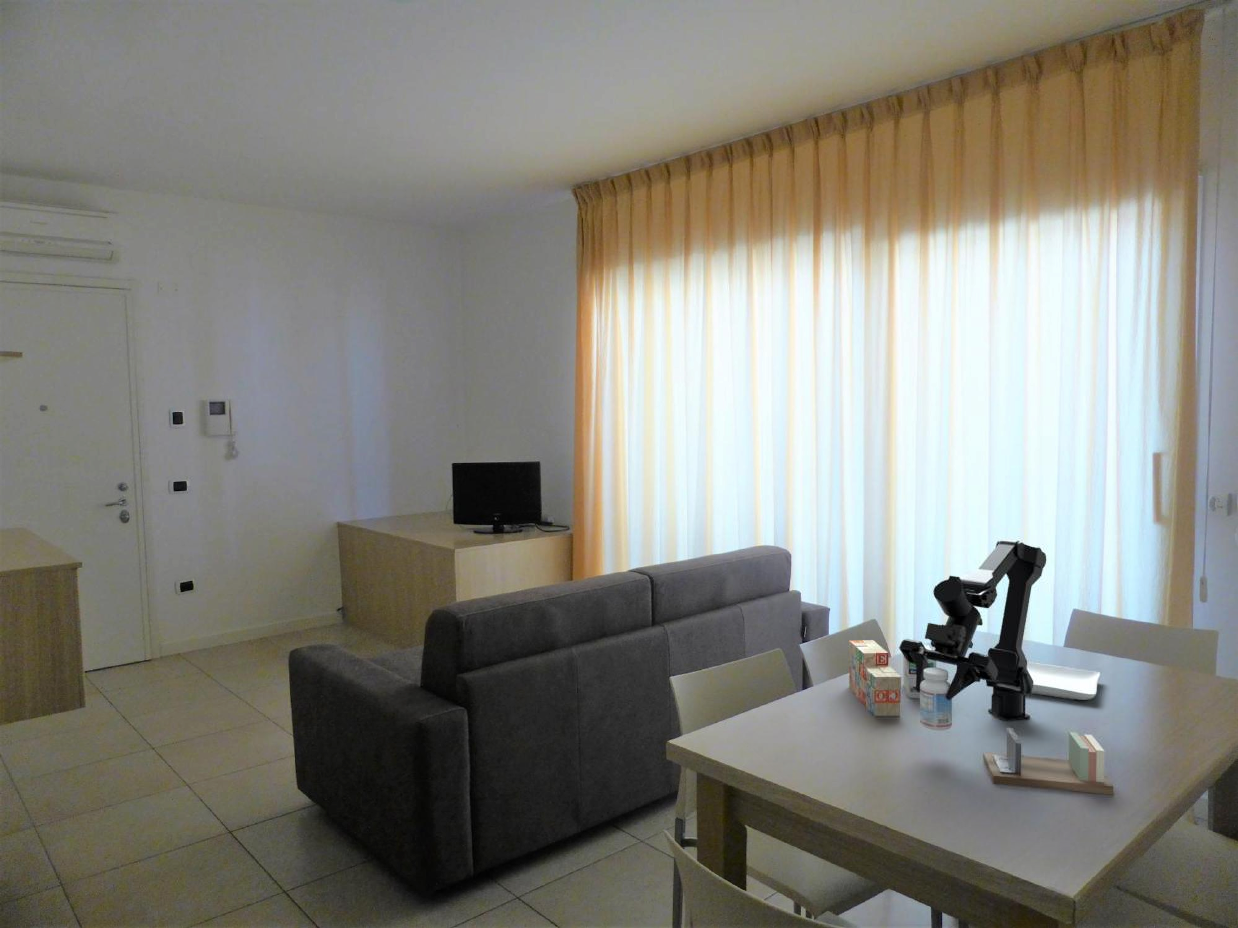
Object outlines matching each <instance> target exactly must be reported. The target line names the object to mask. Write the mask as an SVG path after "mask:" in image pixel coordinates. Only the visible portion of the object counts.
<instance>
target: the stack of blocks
mask: <svg viewBox="0 0 1238 928" xmlns="http://www.w3.org/2000/svg"><path fill="white" fill-rule="evenodd" d="M848 654H849V655H848V664H849V665H848V667H849V671H848V673H849V674H848V675H849V676H848V680H849V681H848V684H849V685H848V686H849V689H850V690H851V689H852V690H851V691H852V692H853V694H854V693H855V694H856V695H855V694H854V695H855V696H856V697H857V699H858V700H860V702H862V703H863V704H865V705H864V706H865V707H866V708H867V710H868V711H869V712H870V713H871V714H872V715H873V716H874V717H875V716H876V717H878V716H879V717H880V716H883V717H885V716H887V717H889V716H891V717H893V716H895V717H896V716H897V717H899V716H901V696H902V695H901V690H902V675H900V674H899V673H897V671H896V670H894V668H892V667H891V666H890V665H889V652H888V651H887V650H886V649H884V648H883V646H881V645H879V644H878V643H877V642H876V641H875V640H873V639H870V640H869V639H868V640H865V639H862V640H861V639H860V640H848Z"/></svg>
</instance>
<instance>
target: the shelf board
mask: <svg viewBox="0 0 1238 928" xmlns="http://www.w3.org/2000/svg"><path fill="white" fill-rule="evenodd" d="M982 755H983V756H982V758H983V759H982V761H983V763H984V766H985V768H986V770H987V773H988V775H989V777H990V779H991V781H992V784H993V785H1005V786H1016V787H1026V788H1039V789H1049V788H1050V790H1059V791H1069V790H1070V791H1071V790H1073V791H1071V792H1081V793H1091V792H1092V794H1093V793H1094V794H1102V793H1103V795H1104V794H1105V795H1114V785H1113V783H1111V781H1110V780H1109V778H1108V777H1107V776H1106V775H1105V774H1104V782H1096V781H1084V780H1080V779H1079V777H1078V776H1077V775H1076V773H1075V772H1074V770H1073V769H1072V767H1071V766H1070V764H1069V759H1063V758H1061V759H1060V758H1049V757H1036V756H1026V755H1025V756H1024V755H1023V756H1022V755H1021V775H1016V774H1005V773H1000V771H999V769H998V767H997V764H996V762H995V760H994V758H993V755H998V756H1007V754H1000V753H988V752H983V753H982ZM1070 791H1069V792H1070Z"/></svg>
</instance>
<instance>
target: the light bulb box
mask: <svg viewBox="0 0 1238 928" xmlns="http://www.w3.org/2000/svg"><path fill="white" fill-rule="evenodd" d="M923 645H924V647H925V648H926V649H928V650H933V649H932V646H931V645H929V644H923ZM902 655H903V654H902ZM902 658H903V662H902V663H903V665H902V668H903V669H902V674H903V677H902V678H903V680H902V682H903V683H902V685H903V688H904V690H905V692H906V695H907V697H908V698H912V699H913V698H915V699H916V698H917V699H920V692H917V690H916V664H912V663H910V662H908V661H907V660H906V658H905V657H904V655H903V656H902ZM929 665H930V667H931V668H937V661H934V660H930V662H929Z"/></svg>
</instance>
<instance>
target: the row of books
mask: <svg viewBox="0 0 1238 928" xmlns="http://www.w3.org/2000/svg"><path fill="white" fill-rule="evenodd" d="M1105 752H1106V750H1104V748H1103V747H1102V746H1101V744H1100V743H1099V742H1098V741H1097V740H1096V738H1095V737H1094V736H1093V734H1083V735H1079V734H1078V733H1077V732H1073V731H1069V733H1068V760H1069V764H1070V766H1071V767H1072V769H1073V770H1074V772H1075V773H1076V775H1077V776H1078V777H1079V779H1080V780H1084V781H1096V782H1104V775H1105V761H1106V760H1105V758H1106V757H1105V756H1106V755H1105Z"/></svg>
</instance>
